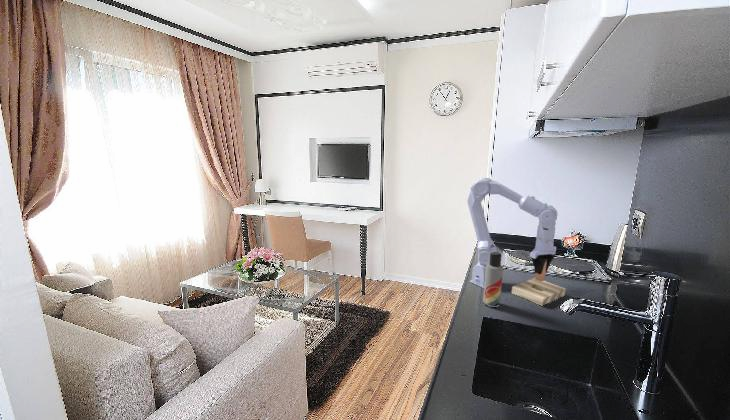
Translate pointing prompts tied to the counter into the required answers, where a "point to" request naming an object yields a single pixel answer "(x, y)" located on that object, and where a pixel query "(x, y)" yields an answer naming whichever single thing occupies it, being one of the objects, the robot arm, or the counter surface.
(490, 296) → the lotion bottle
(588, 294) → the counter surface
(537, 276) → the peg
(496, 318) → the counter surface
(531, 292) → the socket block
